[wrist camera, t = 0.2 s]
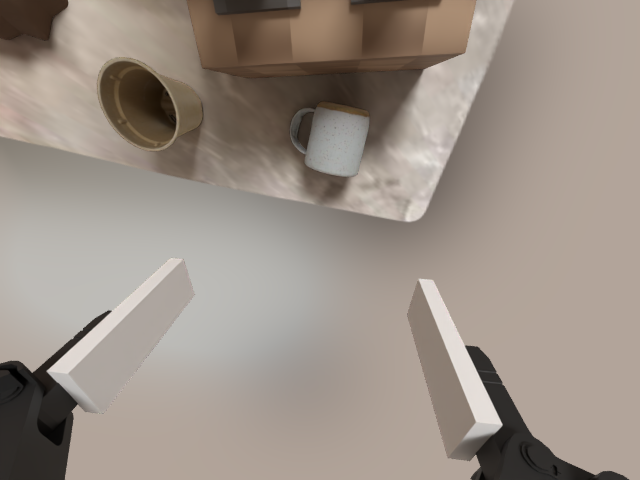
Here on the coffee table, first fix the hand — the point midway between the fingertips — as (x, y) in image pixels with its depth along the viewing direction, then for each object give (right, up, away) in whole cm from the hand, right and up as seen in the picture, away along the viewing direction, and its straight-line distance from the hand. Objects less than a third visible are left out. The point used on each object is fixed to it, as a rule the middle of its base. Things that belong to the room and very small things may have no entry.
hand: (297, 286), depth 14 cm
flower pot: (-19, +22, +21) cm, 36 cm away
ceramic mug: (+3, +18, +22) cm, 28 cm away
